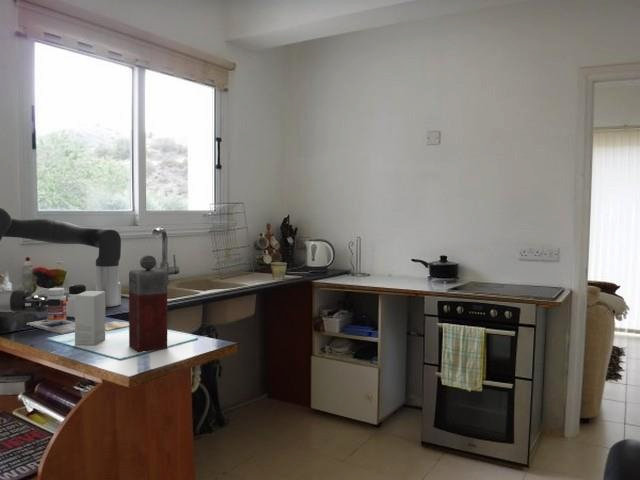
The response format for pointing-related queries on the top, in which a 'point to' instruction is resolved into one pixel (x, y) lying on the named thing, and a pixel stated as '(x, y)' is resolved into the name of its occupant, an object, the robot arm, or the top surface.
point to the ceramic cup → (278, 269)
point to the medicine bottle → (73, 298)
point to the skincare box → (89, 317)
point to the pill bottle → (57, 311)
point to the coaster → (115, 325)
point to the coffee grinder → (147, 307)
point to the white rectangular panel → (58, 329)
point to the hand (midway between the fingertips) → (63, 300)
